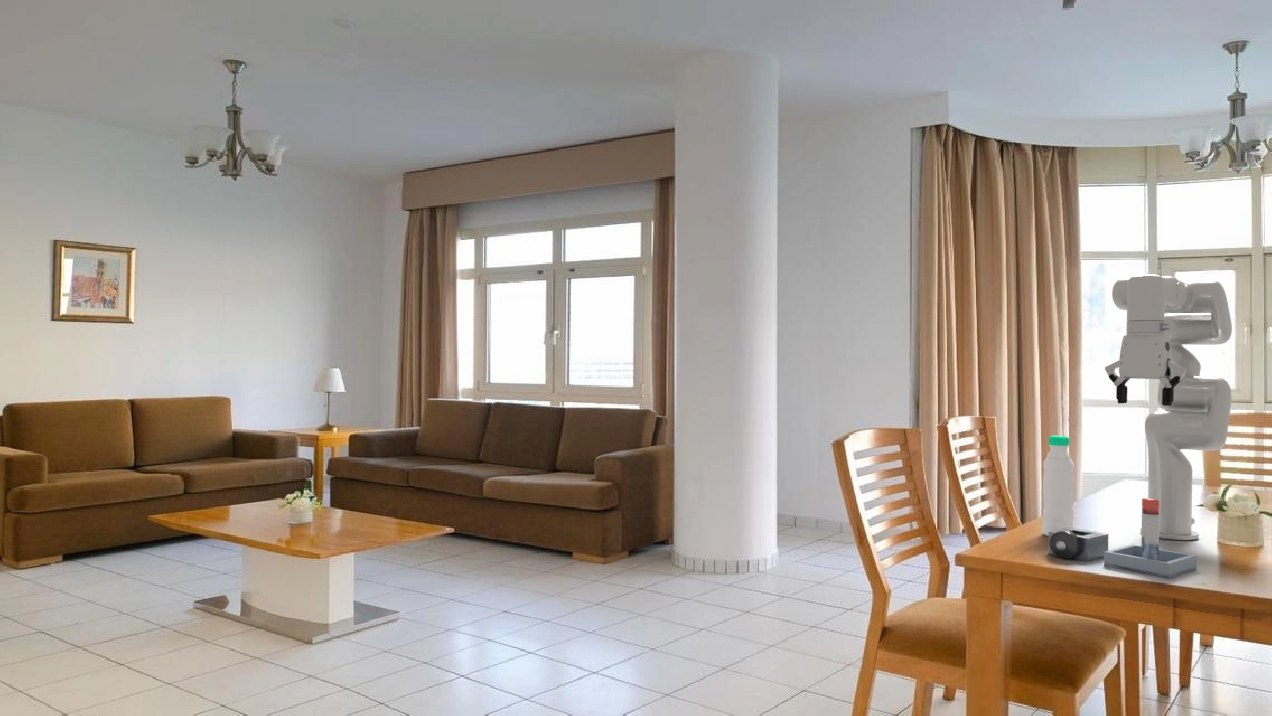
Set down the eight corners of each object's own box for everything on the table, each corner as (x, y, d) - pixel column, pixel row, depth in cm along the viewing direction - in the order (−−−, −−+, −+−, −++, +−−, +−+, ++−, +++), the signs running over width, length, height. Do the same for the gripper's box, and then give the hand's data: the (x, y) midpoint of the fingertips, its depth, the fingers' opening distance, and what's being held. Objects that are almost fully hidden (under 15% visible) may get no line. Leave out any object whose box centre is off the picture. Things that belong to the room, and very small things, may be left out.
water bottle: (1076, 539, 220) (1078, 437, 220) (1046, 537, 221) (1047, 437, 221) (1068, 533, 227) (1070, 435, 226) (1039, 532, 228) (1040, 434, 228)
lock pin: (1145, 562, 193) (1146, 497, 193) (1161, 565, 191) (1162, 499, 191) (1138, 564, 191) (1139, 499, 191) (1154, 567, 189) (1155, 501, 189)
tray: (1132, 557, 200) (1133, 544, 200) (1196, 569, 190) (1196, 555, 190) (1104, 565, 193) (1104, 551, 192) (1168, 578, 182) (1168, 563, 182)
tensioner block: (1068, 548, 209) (1069, 523, 209) (1108, 556, 202) (1108, 529, 202) (1040, 555, 202) (1041, 528, 202) (1080, 563, 194) (1080, 535, 194)
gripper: (1194, 329, 199) (1192, 406, 199) (1114, 330, 213) (1113, 402, 213) (1179, 328, 194) (1177, 407, 194) (1098, 329, 208) (1097, 402, 208)
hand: (1144, 404), depth 204 cm, fingers open, 9 cm apart
